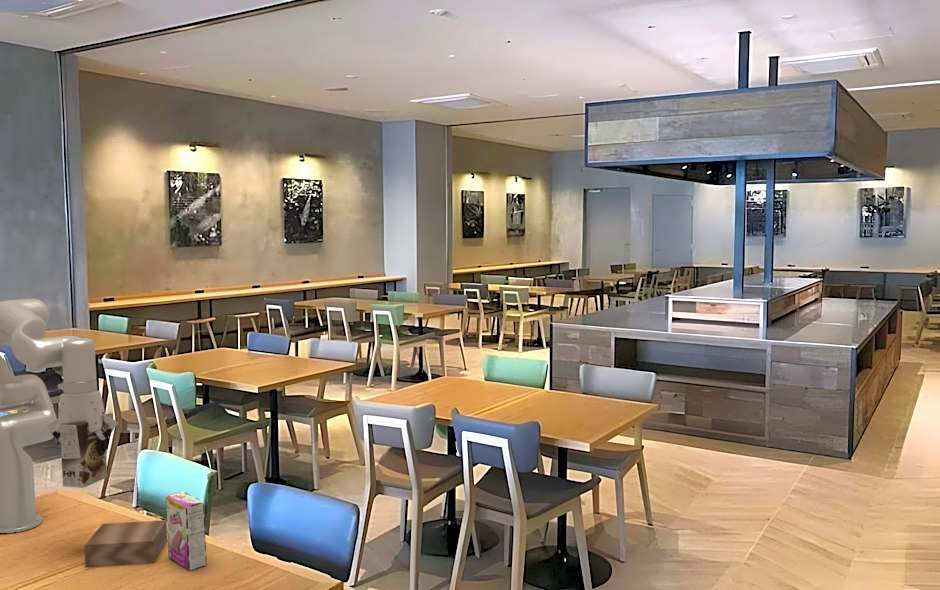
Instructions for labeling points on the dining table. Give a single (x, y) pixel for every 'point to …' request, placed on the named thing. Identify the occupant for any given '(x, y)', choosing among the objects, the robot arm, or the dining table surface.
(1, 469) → the robot arm
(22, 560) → the dining table surface
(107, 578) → the dining table surface
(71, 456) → the coffee box
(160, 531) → the walnut box
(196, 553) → the candy bar box
